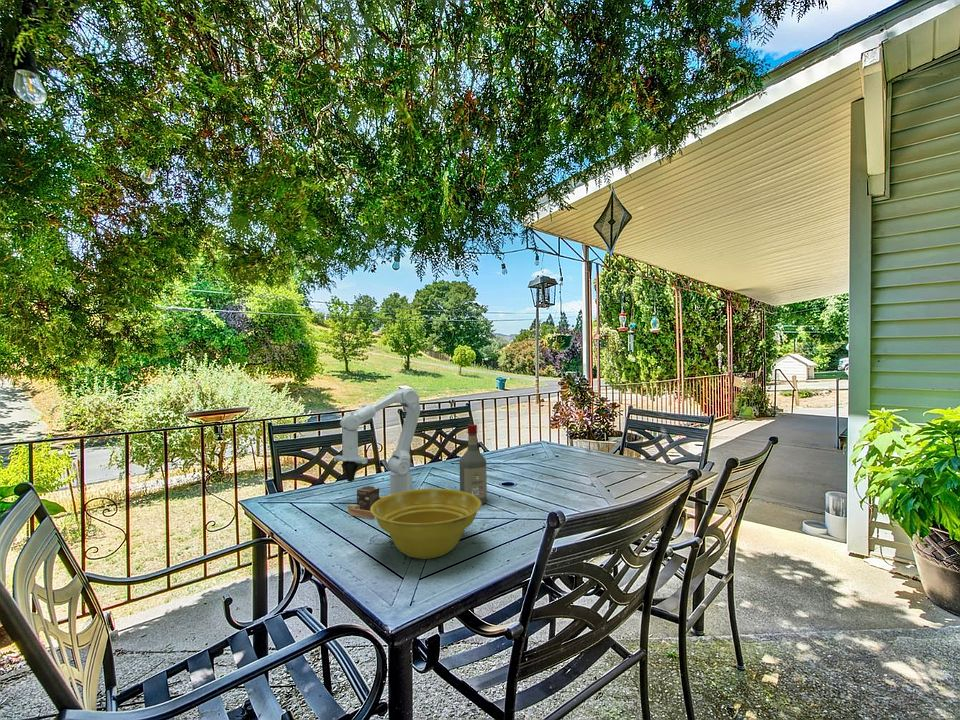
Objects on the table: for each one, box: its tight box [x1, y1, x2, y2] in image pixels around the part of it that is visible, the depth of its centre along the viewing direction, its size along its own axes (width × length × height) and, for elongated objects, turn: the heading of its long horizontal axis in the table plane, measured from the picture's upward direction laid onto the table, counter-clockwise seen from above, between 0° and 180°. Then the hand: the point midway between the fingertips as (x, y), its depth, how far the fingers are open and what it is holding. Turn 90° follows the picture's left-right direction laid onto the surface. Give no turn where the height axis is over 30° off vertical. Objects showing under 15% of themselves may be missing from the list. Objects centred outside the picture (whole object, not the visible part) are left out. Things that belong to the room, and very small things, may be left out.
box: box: [356, 485, 380, 511], centre depth 165 cm, size 6×6×7 cm
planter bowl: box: [370, 488, 483, 560], centre depth 128 cm, size 32×32×13 cm
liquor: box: [459, 424, 488, 505], centre depth 169 cm, size 9×9×30 cm
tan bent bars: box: [346, 495, 386, 520], centre depth 161 cm, size 19×29×3 cm, turn 67°
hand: (350, 481), depth 168 cm, fingers closed
